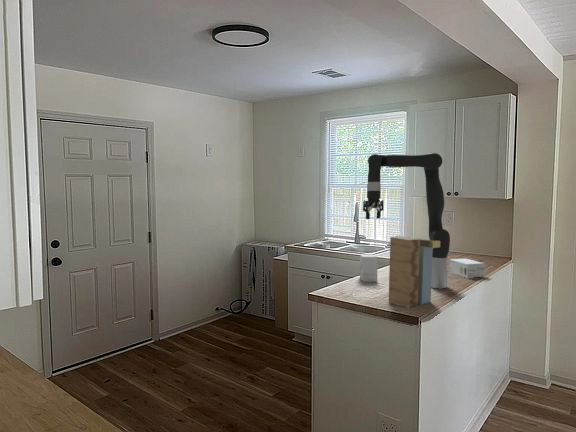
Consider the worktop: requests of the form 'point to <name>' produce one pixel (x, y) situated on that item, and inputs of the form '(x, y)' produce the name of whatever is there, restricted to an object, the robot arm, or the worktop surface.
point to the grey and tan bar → (427, 242)
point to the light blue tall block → (425, 275)
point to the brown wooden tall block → (404, 271)
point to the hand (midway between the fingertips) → (373, 218)
